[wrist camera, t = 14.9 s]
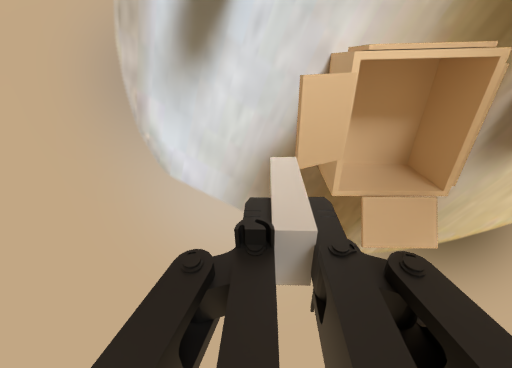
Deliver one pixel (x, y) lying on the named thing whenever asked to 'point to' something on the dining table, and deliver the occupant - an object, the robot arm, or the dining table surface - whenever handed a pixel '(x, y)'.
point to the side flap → (323, 117)
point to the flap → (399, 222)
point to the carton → (413, 115)
